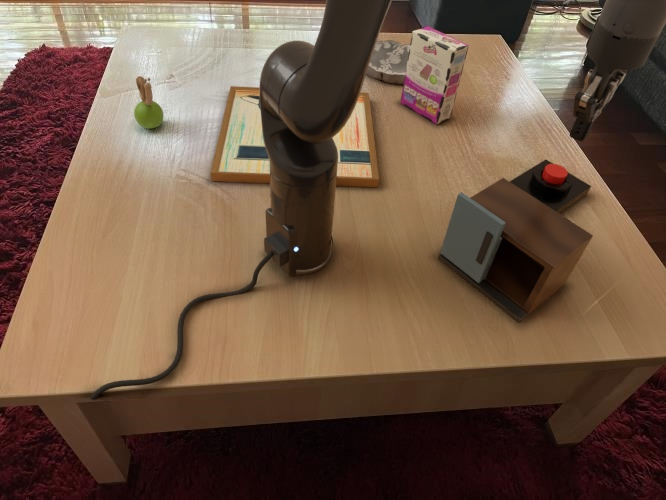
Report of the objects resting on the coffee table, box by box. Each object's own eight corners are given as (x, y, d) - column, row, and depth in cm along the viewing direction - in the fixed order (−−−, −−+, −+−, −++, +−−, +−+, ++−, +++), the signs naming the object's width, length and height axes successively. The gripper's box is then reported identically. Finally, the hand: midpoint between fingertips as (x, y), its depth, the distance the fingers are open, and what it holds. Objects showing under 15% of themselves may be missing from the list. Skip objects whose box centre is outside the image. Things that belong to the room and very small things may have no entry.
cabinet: (518, 322, 77) (544, 273, 69) (437, 258, 85) (453, 207, 77) (564, 284, 83) (593, 235, 75) (484, 227, 91) (503, 177, 83)
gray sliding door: (477, 284, 80) (501, 225, 71) (438, 253, 84) (456, 194, 75) (481, 281, 81) (506, 222, 72) (443, 250, 85) (461, 191, 76)
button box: (550, 221, 93) (558, 204, 90) (504, 191, 98) (511, 174, 95) (586, 195, 98) (595, 178, 96) (542, 168, 103) (549, 151, 101)
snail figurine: (145, 139, 102) (132, 82, 93) (133, 123, 105) (119, 67, 97) (172, 131, 104) (161, 75, 96) (158, 116, 108) (147, 60, 99)
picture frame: (368, 92, 116) (379, 179, 95) (367, 100, 117) (377, 187, 96) (230, 86, 114) (210, 172, 93) (231, 93, 115) (211, 181, 95)
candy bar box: (451, 118, 114) (470, 44, 102) (436, 125, 112) (454, 51, 100) (413, 96, 120) (427, 24, 108) (398, 102, 117) (411, 30, 105)
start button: (556, 187, 94) (559, 180, 92) (537, 176, 96) (540, 168, 94) (568, 179, 95) (572, 172, 94) (549, 168, 97) (553, 160, 96)
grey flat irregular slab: (439, 63, 131) (441, 52, 129) (419, 94, 120) (421, 82, 118) (366, 45, 136) (367, 33, 134) (340, 73, 125) (341, 61, 123)
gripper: (620, 0, 72) (572, 111, 84) (580, 28, 65) (534, 145, 77) (676, 17, 69) (618, 130, 81) (641, 49, 62) (582, 167, 74)
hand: (577, 137), depth 79 cm, fingers closed
